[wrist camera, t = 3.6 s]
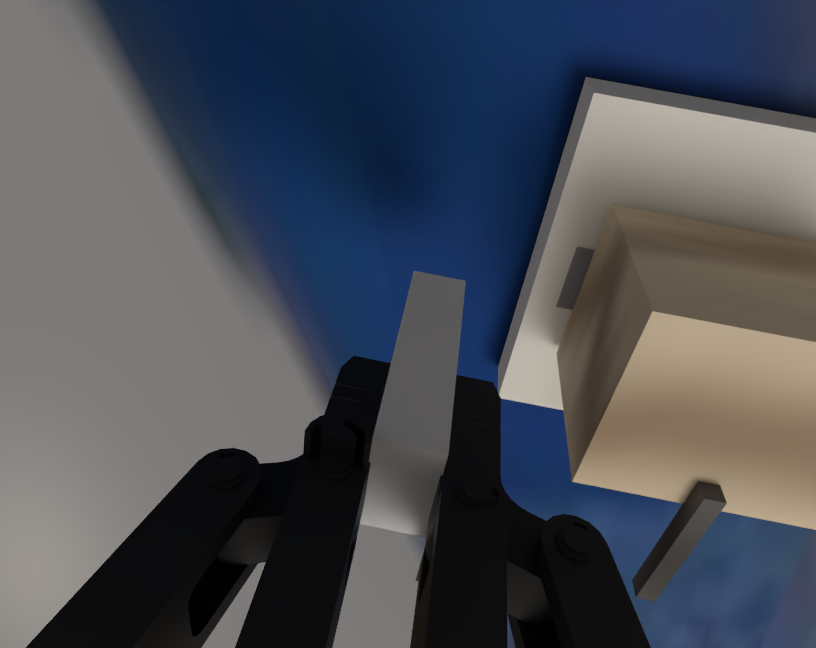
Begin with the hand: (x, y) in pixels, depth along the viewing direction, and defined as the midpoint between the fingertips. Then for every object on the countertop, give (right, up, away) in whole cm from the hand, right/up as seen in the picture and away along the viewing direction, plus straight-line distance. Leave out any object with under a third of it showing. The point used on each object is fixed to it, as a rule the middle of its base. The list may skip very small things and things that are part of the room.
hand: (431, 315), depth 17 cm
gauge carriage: (+10, -2, +4) cm, 11 cm away
